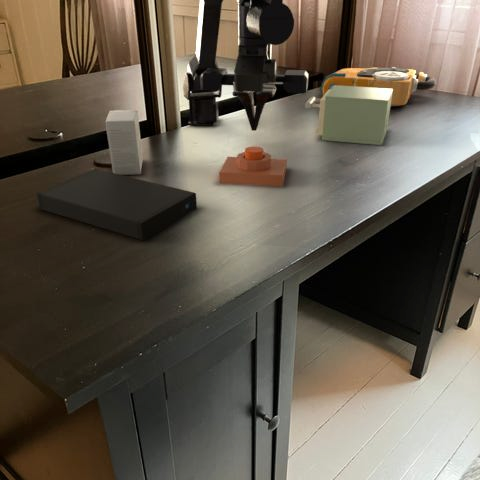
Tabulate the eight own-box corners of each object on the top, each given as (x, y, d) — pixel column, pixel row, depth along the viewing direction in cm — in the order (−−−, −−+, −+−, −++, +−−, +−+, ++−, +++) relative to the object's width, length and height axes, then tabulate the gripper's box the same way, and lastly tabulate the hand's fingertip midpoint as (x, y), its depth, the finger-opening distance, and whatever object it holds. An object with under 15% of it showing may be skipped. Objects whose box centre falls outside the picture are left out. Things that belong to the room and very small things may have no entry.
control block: (219, 183, 102) (218, 162, 99) (227, 167, 109) (227, 147, 107) (282, 186, 100) (283, 165, 98) (286, 170, 107) (287, 150, 105)
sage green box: (321, 140, 123) (325, 96, 118) (330, 126, 132) (334, 85, 127) (381, 145, 120) (388, 100, 114) (386, 131, 129) (393, 88, 123)
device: (336, 59, 162) (439, 64, 154) (333, 88, 167) (433, 94, 159) (320, 73, 144) (436, 79, 136) (318, 105, 149) (429, 113, 141)
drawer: (301, 133, 124) (303, 98, 120) (310, 121, 132) (312, 88, 128) (372, 139, 120) (377, 103, 116) (377, 127, 128) (382, 92, 124)
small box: (116, 162, 112) (109, 109, 106) (143, 161, 112) (137, 109, 106) (112, 175, 105) (104, 121, 99) (141, 174, 106) (134, 120, 100)
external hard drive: (98, 183, 102) (96, 168, 100) (197, 209, 92) (196, 192, 90) (40, 209, 92) (36, 193, 90) (143, 241, 82) (141, 223, 80)
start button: (243, 161, 101) (243, 151, 100) (246, 154, 104) (246, 145, 103) (262, 161, 101) (262, 152, 100) (264, 155, 104) (264, 146, 103)
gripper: (190, 42, 85) (195, 141, 94) (307, 44, 83) (301, 145, 92) (205, 32, 94) (208, 123, 103) (311, 34, 92) (305, 127, 101)
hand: (254, 130), depth 99 cm, fingers closed
